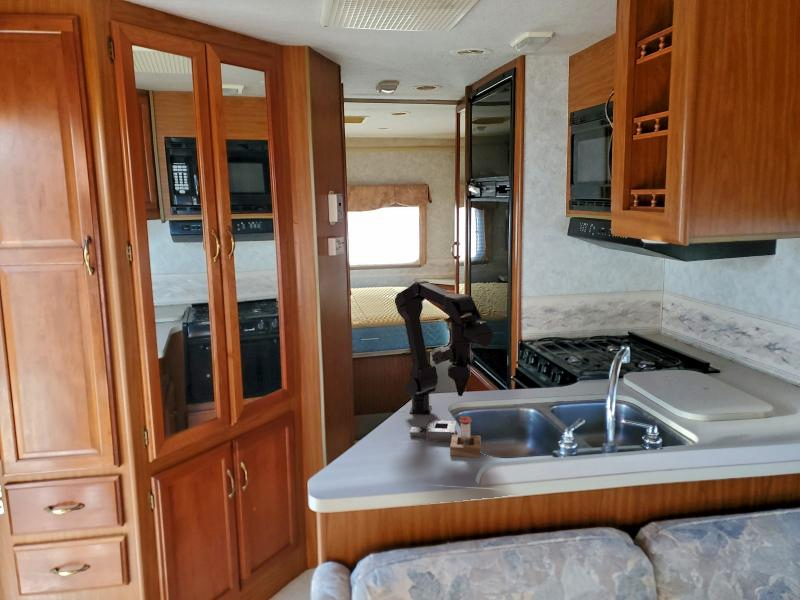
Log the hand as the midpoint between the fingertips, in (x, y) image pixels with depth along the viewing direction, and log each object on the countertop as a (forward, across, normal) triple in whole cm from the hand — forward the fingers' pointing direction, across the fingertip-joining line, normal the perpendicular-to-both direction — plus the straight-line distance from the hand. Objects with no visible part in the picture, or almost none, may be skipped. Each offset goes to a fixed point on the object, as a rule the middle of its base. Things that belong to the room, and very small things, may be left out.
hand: (461, 390), depth 178 cm
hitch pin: (+12, +13, +2) cm, 18 cm away
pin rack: (+12, +13, +2) cm, 18 cm away
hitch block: (+13, +4, -8) cm, 16 cm away
